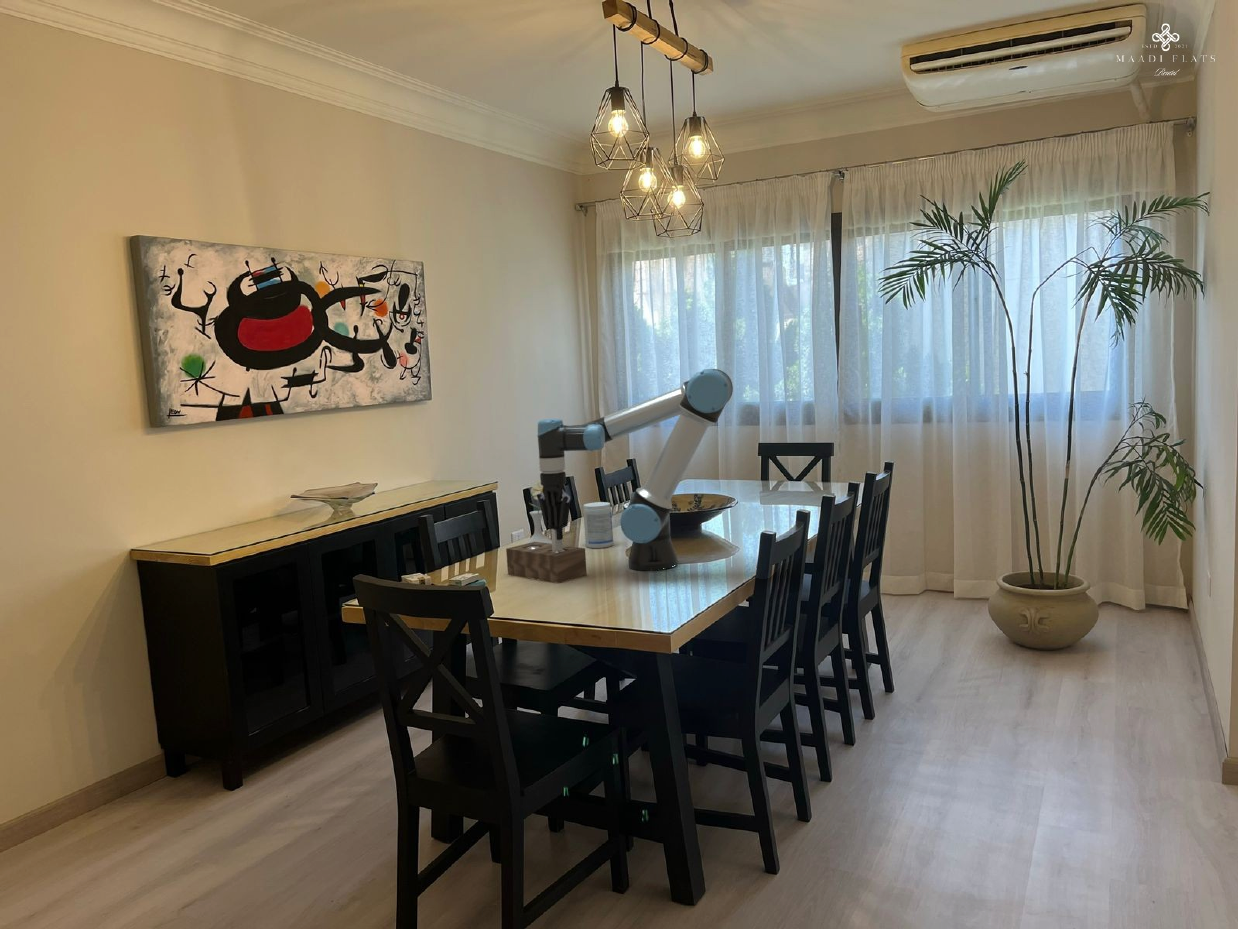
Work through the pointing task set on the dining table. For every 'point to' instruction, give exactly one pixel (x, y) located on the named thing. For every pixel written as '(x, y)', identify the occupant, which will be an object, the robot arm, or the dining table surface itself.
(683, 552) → the dining table surface
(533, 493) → the flower in vase
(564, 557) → the block
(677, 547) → the dining table surface
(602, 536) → the supplement tub
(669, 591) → the dining table surface
